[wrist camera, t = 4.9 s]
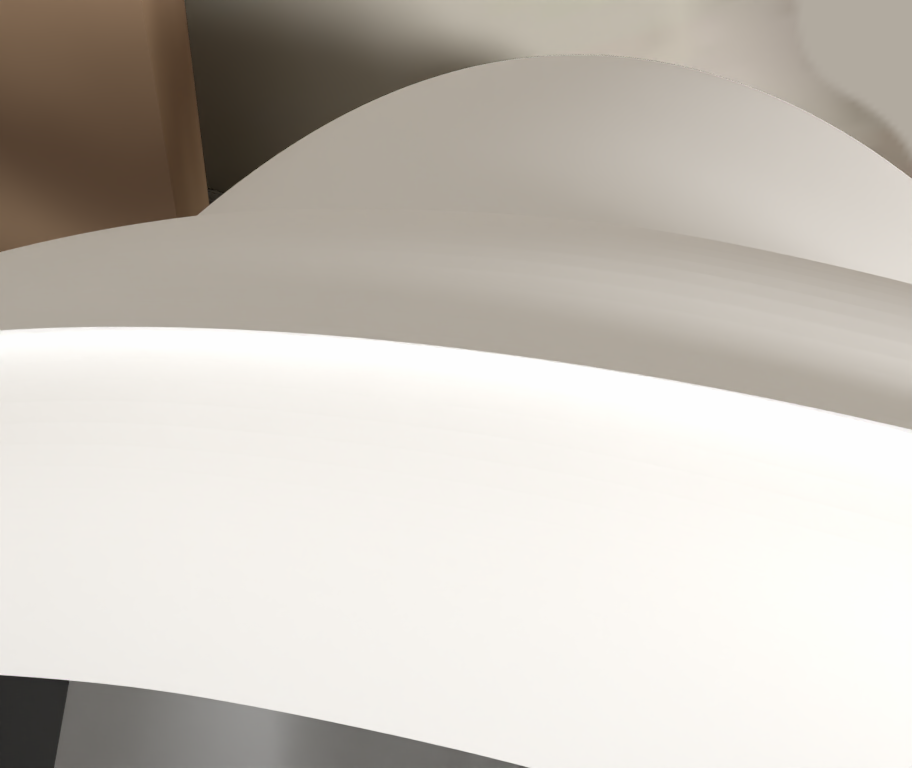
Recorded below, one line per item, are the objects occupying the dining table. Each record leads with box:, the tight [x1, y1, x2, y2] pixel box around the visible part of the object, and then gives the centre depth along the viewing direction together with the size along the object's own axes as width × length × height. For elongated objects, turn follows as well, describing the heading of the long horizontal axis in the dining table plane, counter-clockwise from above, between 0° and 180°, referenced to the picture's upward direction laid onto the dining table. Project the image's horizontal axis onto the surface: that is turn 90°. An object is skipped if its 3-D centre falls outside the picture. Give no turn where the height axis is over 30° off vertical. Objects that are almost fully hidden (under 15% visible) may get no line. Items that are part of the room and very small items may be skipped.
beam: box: [0, 0, 209, 252], centre depth 19 cm, size 28×10×4 cm, turn 169°
